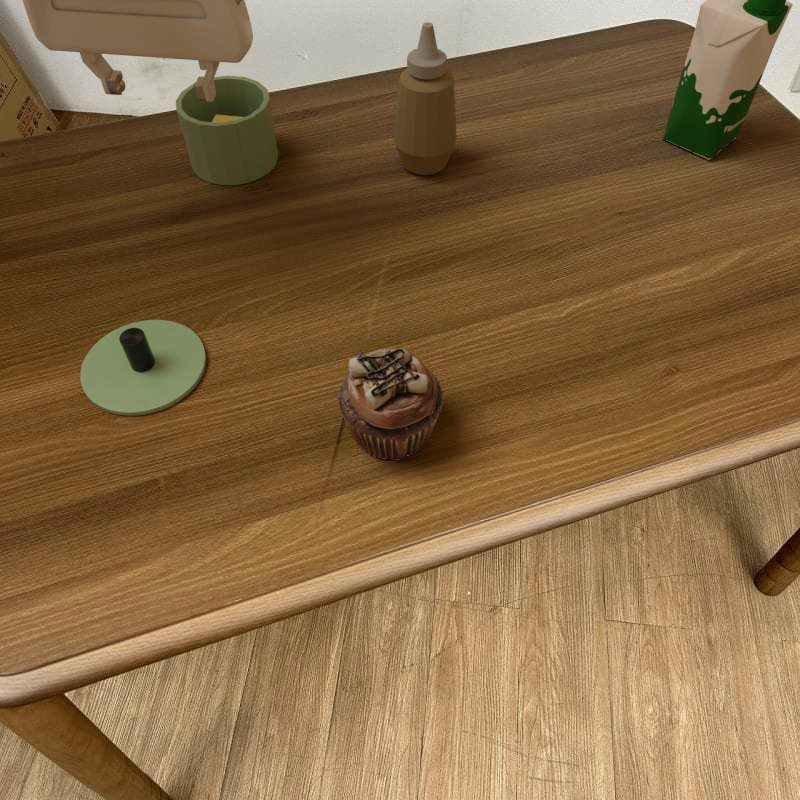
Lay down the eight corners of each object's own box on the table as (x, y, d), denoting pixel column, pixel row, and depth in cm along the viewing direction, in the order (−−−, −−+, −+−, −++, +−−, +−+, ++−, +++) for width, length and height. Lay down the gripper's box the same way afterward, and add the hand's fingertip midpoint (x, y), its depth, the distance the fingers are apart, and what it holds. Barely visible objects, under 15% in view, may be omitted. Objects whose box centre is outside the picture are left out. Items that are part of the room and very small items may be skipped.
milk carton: (711, 167, 97) (771, 9, 81) (651, 140, 101) (697, -16, 85) (744, 139, 101) (808, -16, 85) (686, 114, 105) (735, -39, 89)
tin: (179, 181, 96) (162, 121, 89) (207, 131, 103) (193, 72, 96) (264, 189, 95) (254, 129, 88) (287, 138, 102) (279, 79, 95)
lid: (63, 411, 73) (42, 377, 69) (113, 321, 80) (97, 285, 76) (183, 427, 72) (170, 393, 68) (223, 334, 79) (213, 298, 75)
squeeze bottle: (384, 173, 97) (380, 34, 82) (407, 140, 101) (407, 3, 87) (442, 187, 95) (449, 47, 80) (463, 153, 99) (473, 15, 85)
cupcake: (461, 438, 71) (468, 370, 63) (375, 486, 67) (371, 420, 59) (406, 374, 76) (406, 303, 68) (323, 415, 72) (313, 346, 64)
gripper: (247, -67, 64) (270, 85, 75) (24, -78, 66) (78, 72, 77) (226, -36, 60) (254, 120, 71) (-10, -49, 62) (52, 104, 73)
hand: (161, 95), depth 74 cm, fingers open, 8 cm apart
